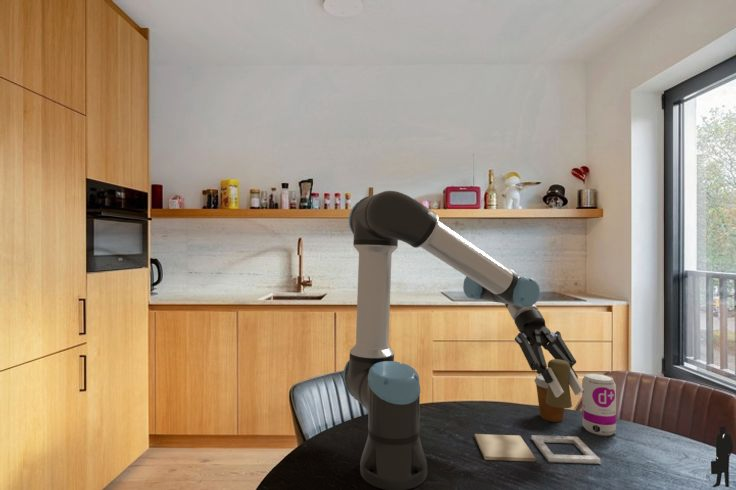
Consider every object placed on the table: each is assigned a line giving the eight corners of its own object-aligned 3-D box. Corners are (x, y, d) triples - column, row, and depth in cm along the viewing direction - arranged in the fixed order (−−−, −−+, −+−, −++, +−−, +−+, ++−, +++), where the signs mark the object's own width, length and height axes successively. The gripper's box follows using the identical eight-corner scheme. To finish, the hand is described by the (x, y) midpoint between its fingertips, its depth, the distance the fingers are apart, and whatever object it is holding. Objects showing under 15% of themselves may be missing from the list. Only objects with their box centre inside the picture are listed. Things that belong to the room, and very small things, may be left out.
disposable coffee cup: (528, 412, 127) (528, 373, 127) (555, 410, 128) (555, 372, 129) (546, 425, 117) (546, 383, 118) (576, 422, 119) (576, 381, 119)
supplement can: (620, 438, 109) (620, 382, 110) (587, 435, 111) (587, 380, 111) (609, 425, 117) (609, 373, 118) (578, 422, 119) (578, 371, 119)
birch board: (484, 459, 97) (484, 456, 97) (474, 437, 109) (474, 434, 109) (535, 461, 97) (535, 458, 97) (519, 438, 109) (520, 435, 109)
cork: (541, 402, 103) (541, 359, 103) (552, 397, 107) (552, 355, 107) (565, 410, 98) (565, 364, 98) (576, 404, 102) (576, 360, 102)
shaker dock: (548, 462, 97) (548, 457, 97) (531, 438, 109) (531, 435, 109) (600, 463, 96) (600, 459, 96) (577, 440, 108) (577, 436, 108)
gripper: (546, 322, 120) (591, 397, 104) (492, 324, 115) (531, 404, 99) (559, 307, 115) (608, 383, 99) (504, 308, 110) (546, 389, 94)
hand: (569, 393), depth 99 cm, fingers closed on cork, 5 cm apart
